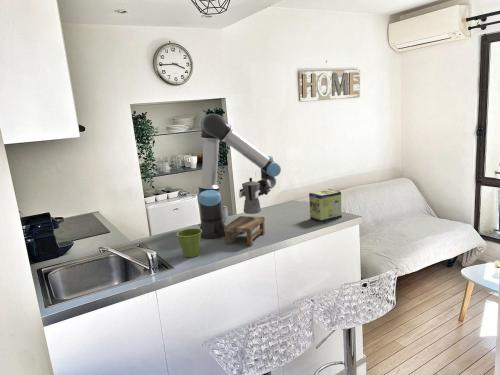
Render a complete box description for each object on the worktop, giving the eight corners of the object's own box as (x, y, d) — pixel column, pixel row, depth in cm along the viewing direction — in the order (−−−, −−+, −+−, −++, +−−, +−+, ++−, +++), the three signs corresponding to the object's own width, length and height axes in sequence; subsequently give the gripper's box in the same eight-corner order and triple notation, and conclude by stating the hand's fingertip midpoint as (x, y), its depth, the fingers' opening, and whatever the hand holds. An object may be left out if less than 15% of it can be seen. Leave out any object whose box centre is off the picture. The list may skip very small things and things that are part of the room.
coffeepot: (244, 208, 206) (242, 175, 202) (261, 208, 205) (260, 175, 201) (241, 216, 191) (239, 181, 187) (260, 216, 190) (258, 180, 186)
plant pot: (180, 251, 184) (177, 229, 182) (204, 249, 185) (202, 227, 182) (177, 261, 172) (174, 237, 170) (203, 258, 173) (201, 234, 171)
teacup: (220, 224, 225) (219, 211, 223) (207, 222, 232) (205, 209, 230) (235, 218, 236) (234, 205, 234) (222, 216, 242) (221, 204, 241)
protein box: (309, 219, 222) (308, 193, 219) (330, 214, 229) (329, 188, 226) (321, 222, 213) (319, 195, 210) (342, 217, 220) (341, 191, 217)
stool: (225, 244, 189) (223, 227, 187) (241, 232, 207) (239, 216, 205) (251, 246, 184) (250, 228, 182) (265, 233, 202) (264, 216, 200)
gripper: (280, 193, 210) (267, 203, 189) (245, 192, 217) (229, 202, 197) (279, 179, 208) (266, 188, 188) (244, 179, 216) (228, 188, 195)
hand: (247, 195), depth 192 cm, fingers closed on coffeepot, 8 cm apart
